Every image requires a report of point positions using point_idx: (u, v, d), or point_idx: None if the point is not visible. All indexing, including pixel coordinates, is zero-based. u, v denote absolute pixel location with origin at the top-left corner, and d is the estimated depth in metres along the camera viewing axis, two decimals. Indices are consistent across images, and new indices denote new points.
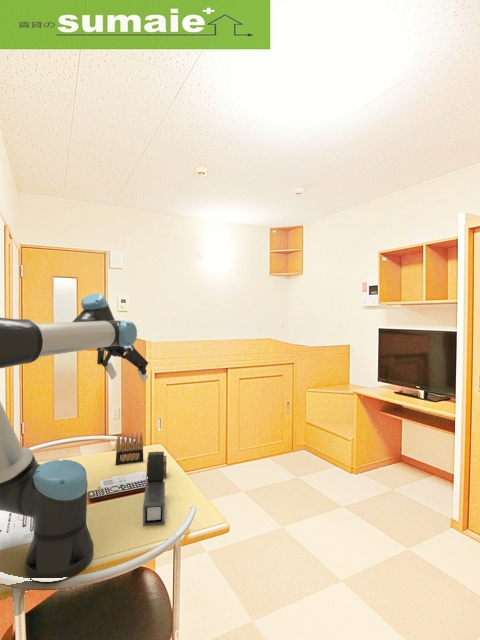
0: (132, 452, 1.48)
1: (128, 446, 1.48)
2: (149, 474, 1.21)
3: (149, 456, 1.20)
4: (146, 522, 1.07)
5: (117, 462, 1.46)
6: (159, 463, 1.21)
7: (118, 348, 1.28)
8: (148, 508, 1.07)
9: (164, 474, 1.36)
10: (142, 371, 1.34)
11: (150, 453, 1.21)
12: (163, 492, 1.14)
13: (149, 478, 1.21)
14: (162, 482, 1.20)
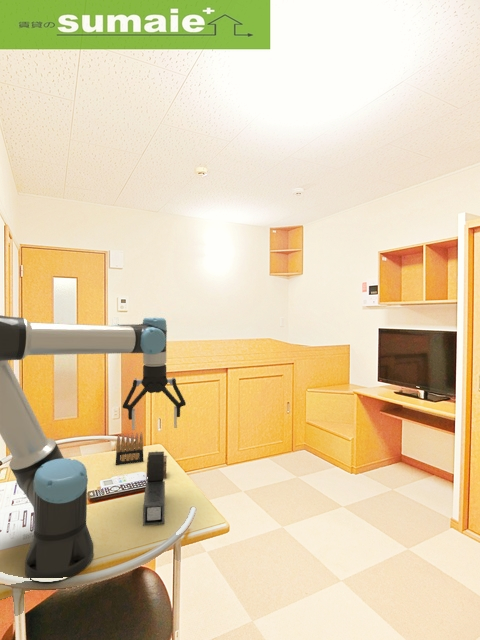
0: (132, 452, 1.48)
1: (128, 446, 1.48)
2: (149, 474, 1.21)
3: (149, 456, 1.20)
4: (146, 522, 1.07)
5: (117, 462, 1.46)
6: (159, 463, 1.21)
7: (162, 380, 1.21)
8: (148, 508, 1.07)
9: (164, 474, 1.36)
10: (178, 412, 1.23)
11: (150, 453, 1.21)
12: (163, 492, 1.14)
13: (149, 478, 1.21)
14: (162, 482, 1.20)
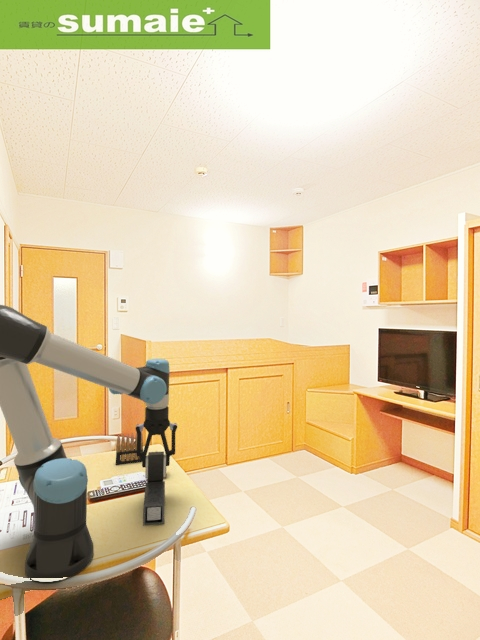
0: (132, 452, 1.48)
1: (128, 446, 1.48)
2: (149, 474, 1.21)
3: (149, 456, 1.20)
4: (146, 522, 1.07)
5: (117, 462, 1.46)
6: (159, 463, 1.21)
7: (165, 421, 1.21)
8: (148, 508, 1.07)
9: None
10: (167, 461, 1.22)
11: (150, 453, 1.21)
12: (163, 492, 1.14)
13: (149, 478, 1.21)
14: (162, 482, 1.20)
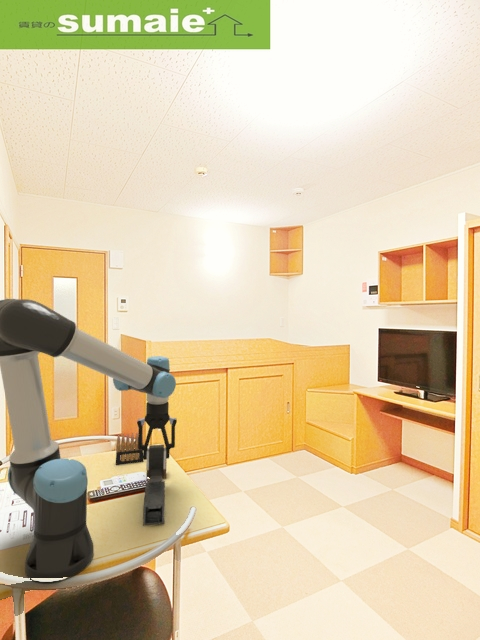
0: (132, 452, 1.48)
1: (128, 446, 1.48)
2: (150, 466, 1.27)
3: (150, 449, 1.26)
4: (146, 522, 1.07)
5: (117, 462, 1.46)
6: (160, 456, 1.27)
7: (165, 416, 1.27)
8: None
9: (164, 474, 1.36)
10: (167, 453, 1.28)
11: (151, 446, 1.27)
12: (163, 492, 1.14)
13: (150, 470, 1.27)
14: (162, 482, 1.20)
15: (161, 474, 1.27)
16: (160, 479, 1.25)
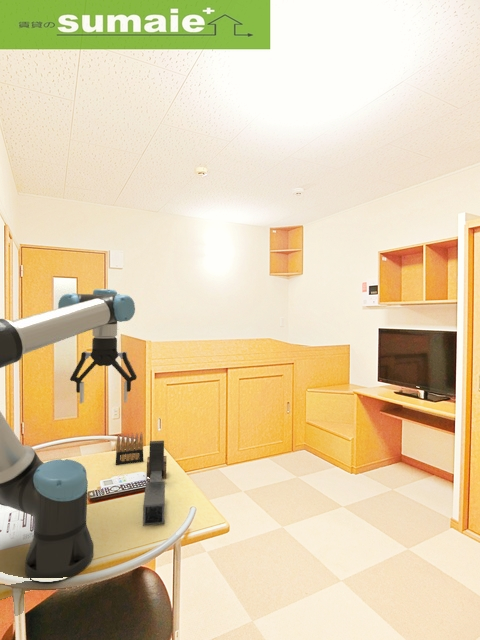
0: (132, 452, 1.48)
1: (128, 446, 1.48)
2: (150, 461, 1.31)
3: (150, 444, 1.30)
4: (146, 522, 1.07)
5: (117, 462, 1.46)
6: (160, 451, 1.31)
7: (111, 353, 1.19)
8: None
9: (164, 474, 1.36)
10: (128, 386, 1.21)
11: (151, 442, 1.31)
12: (163, 492, 1.14)
13: (150, 465, 1.31)
14: (162, 482, 1.20)
15: (161, 469, 1.31)
16: (160, 474, 1.29)
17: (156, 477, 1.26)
